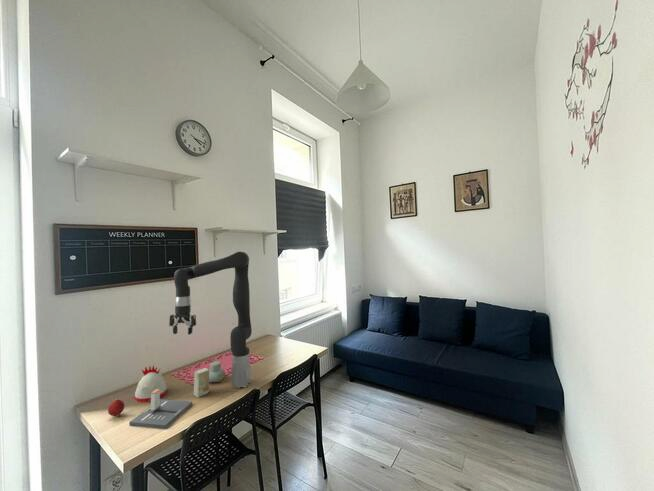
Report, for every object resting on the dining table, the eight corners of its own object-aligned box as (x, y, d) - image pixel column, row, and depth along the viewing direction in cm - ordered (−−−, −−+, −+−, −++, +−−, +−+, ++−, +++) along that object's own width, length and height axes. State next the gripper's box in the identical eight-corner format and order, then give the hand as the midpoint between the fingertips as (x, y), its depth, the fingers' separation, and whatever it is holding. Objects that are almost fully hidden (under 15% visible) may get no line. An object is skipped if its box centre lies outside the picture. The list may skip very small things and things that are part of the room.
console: (192, 404, 130) (192, 401, 130) (165, 428, 112) (165, 425, 112) (160, 402, 132) (160, 398, 132) (129, 425, 114) (129, 421, 114)
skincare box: (198, 397, 136) (198, 373, 136) (193, 395, 138) (193, 371, 139) (209, 392, 141) (209, 369, 142) (204, 390, 144) (205, 367, 144)
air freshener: (215, 385, 149) (215, 367, 149) (202, 384, 150) (203, 366, 151) (227, 376, 159) (227, 360, 159) (214, 375, 161) (215, 358, 161)
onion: (114, 412, 123) (114, 395, 123) (127, 412, 124) (127, 394, 124) (104, 420, 117) (105, 402, 118) (118, 420, 118) (118, 401, 118)
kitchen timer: (138, 391, 143) (139, 362, 143) (168, 385, 148) (168, 358, 149) (131, 404, 130) (132, 373, 130) (163, 398, 135) (164, 368, 136)
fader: (161, 406, 125) (161, 388, 125) (152, 412, 120) (153, 394, 120) (157, 406, 125) (157, 388, 125) (148, 412, 120) (149, 393, 120)
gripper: (199, 303, 149) (198, 332, 149) (175, 302, 151) (175, 331, 150) (190, 305, 142) (190, 336, 141) (166, 305, 143) (165, 335, 143)
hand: (182, 333), depth 146 cm, fingers open, 8 cm apart
